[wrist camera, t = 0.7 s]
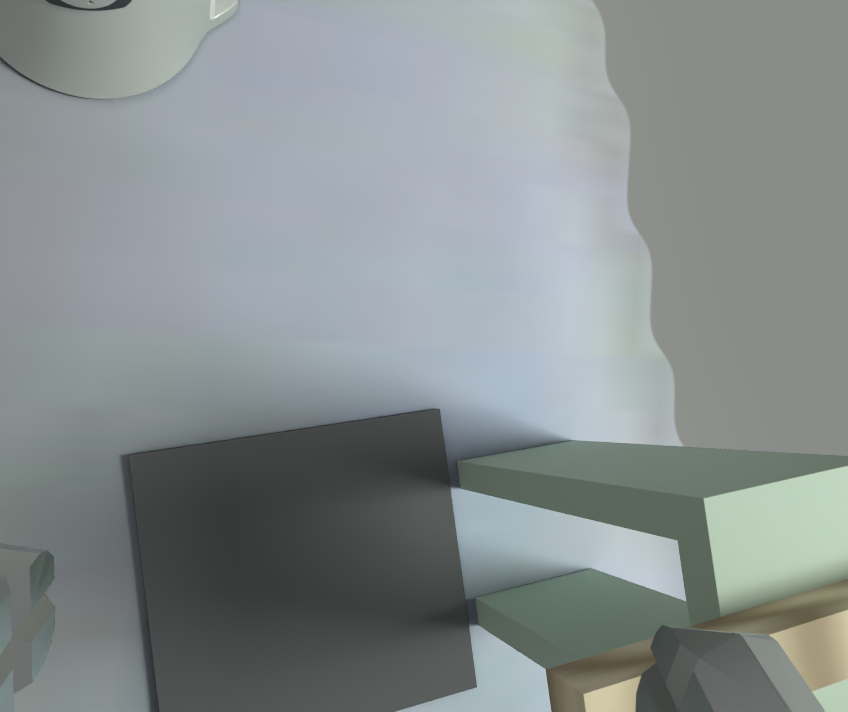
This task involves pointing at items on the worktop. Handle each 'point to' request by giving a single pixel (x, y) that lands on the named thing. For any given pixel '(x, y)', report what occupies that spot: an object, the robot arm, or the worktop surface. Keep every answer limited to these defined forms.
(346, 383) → the worktop surface
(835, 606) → the bar
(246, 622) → the mat
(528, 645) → the bridge
